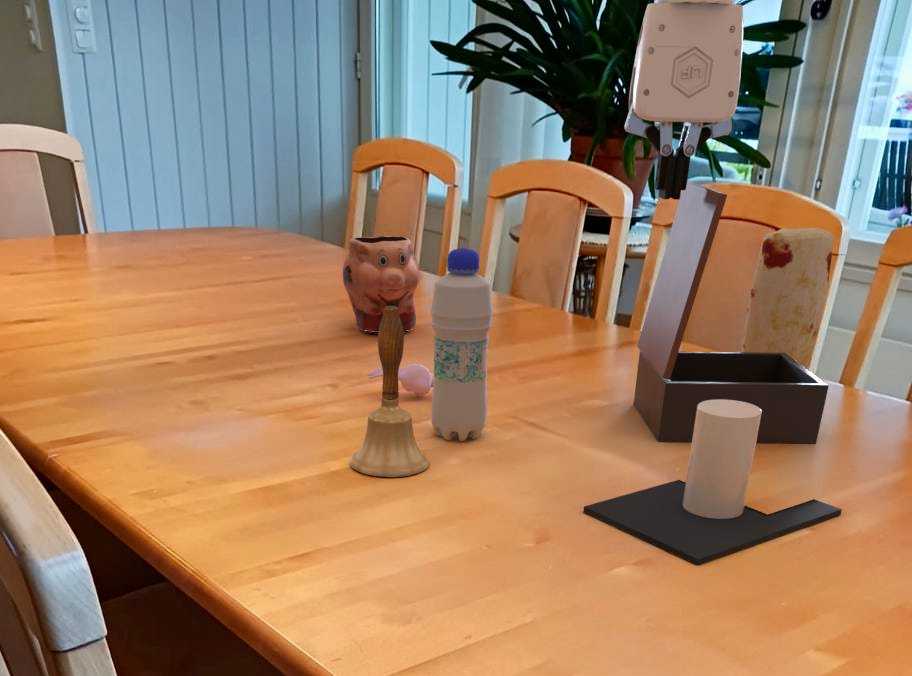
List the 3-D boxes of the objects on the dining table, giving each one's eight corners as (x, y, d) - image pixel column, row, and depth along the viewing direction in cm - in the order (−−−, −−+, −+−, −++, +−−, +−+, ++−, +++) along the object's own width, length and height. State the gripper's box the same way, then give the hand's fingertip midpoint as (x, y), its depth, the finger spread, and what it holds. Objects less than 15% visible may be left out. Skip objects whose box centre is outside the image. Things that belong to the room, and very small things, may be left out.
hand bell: (413, 448, 107) (414, 296, 99) (440, 473, 100) (443, 312, 92) (340, 455, 104) (335, 301, 96) (363, 481, 97) (359, 317, 90)
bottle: (493, 443, 109) (502, 252, 99) (434, 445, 108) (437, 253, 98) (481, 424, 114) (488, 243, 104) (424, 427, 113) (426, 243, 103)
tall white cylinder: (709, 492, 95) (725, 395, 90) (756, 510, 91) (775, 410, 86) (669, 504, 92) (684, 405, 87) (716, 524, 88) (733, 421, 83)
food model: (742, 393, 128) (771, 229, 118) (726, 379, 134) (752, 222, 124) (814, 393, 128) (849, 230, 118) (796, 379, 134) (827, 223, 124)
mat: (723, 471, 101) (724, 466, 101) (840, 515, 92) (842, 509, 91) (582, 512, 91) (583, 506, 91) (697, 565, 81) (698, 559, 81)
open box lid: (692, 181, 108) (685, 180, 107) (727, 194, 95) (719, 193, 95) (643, 347, 117) (636, 346, 116) (669, 379, 104) (662, 378, 104)
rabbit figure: (473, 397, 129) (362, 383, 125) (482, 352, 126) (369, 336, 123) (484, 410, 124) (369, 396, 120) (494, 364, 121) (376, 347, 117)
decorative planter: (328, 317, 165) (325, 229, 158) (395, 313, 169) (395, 227, 162) (365, 343, 149) (363, 246, 142) (439, 337, 153) (440, 243, 146)
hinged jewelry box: (773, 412, 121) (785, 352, 117) (814, 450, 108) (828, 385, 104) (632, 410, 120) (639, 350, 117) (656, 448, 108) (665, 383, 104)
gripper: (624, -18, 89) (603, 200, 98) (786, -14, 89) (750, 203, 99) (611, -11, 96) (592, 193, 105) (761, -8, 96) (730, 196, 105)
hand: (668, 197), depth 102 cm, fingers closed
